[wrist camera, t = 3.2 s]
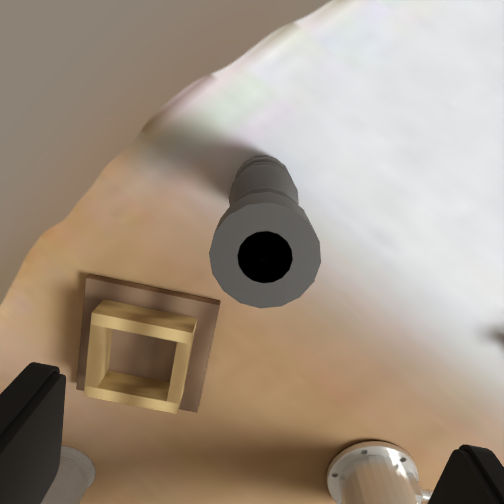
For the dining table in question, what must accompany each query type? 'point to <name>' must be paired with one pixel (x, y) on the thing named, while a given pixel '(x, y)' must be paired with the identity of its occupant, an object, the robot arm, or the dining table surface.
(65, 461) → the grey and black mug
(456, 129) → the dining table surface
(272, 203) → the candle holder
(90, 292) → the socket base
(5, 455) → the robot arm
